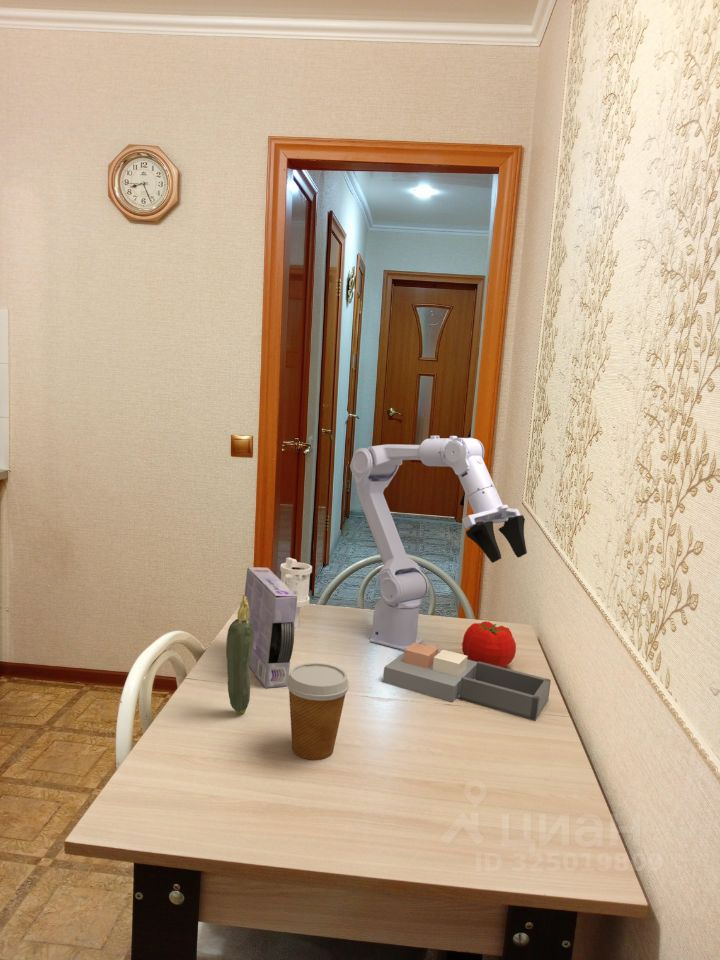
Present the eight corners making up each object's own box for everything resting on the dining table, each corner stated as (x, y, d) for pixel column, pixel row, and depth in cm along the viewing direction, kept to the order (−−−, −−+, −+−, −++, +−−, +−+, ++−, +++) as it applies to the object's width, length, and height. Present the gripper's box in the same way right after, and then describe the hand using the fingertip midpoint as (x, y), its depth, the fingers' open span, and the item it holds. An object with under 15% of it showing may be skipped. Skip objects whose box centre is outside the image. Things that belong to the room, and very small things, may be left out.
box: (459, 698, 130) (461, 678, 130) (476, 680, 139) (478, 661, 138) (535, 720, 124) (538, 698, 123) (548, 700, 133) (550, 679, 132)
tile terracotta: (403, 662, 137) (404, 649, 137) (413, 654, 142) (414, 642, 142) (427, 668, 135) (428, 656, 135) (437, 660, 140) (438, 648, 139)
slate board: (382, 681, 135) (384, 666, 134) (411, 659, 147) (413, 645, 147) (452, 702, 128) (454, 686, 128) (477, 676, 141) (478, 662, 140)
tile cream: (432, 669, 135) (433, 657, 134) (441, 661, 139) (443, 649, 139) (457, 676, 133) (458, 663, 132) (466, 668, 137) (467, 655, 137)
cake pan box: (292, 689, 129) (299, 594, 126) (266, 692, 126) (272, 595, 124) (261, 649, 146) (267, 565, 143) (237, 651, 144) (242, 566, 141)
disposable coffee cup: (347, 737, 112) (353, 665, 111) (339, 769, 103) (346, 691, 101) (288, 730, 113) (293, 658, 112) (275, 761, 104) (280, 683, 102)
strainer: (296, 618, 166) (301, 555, 164) (313, 628, 161) (318, 563, 159) (270, 622, 162) (274, 558, 160) (287, 632, 156) (292, 566, 154)
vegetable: (243, 722, 114) (250, 602, 112) (217, 718, 115) (224, 599, 113) (252, 711, 119) (260, 595, 116) (228, 706, 120) (235, 591, 117)
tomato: (518, 678, 142) (523, 636, 141) (463, 673, 142) (467, 631, 141) (508, 658, 152) (512, 619, 151) (457, 653, 152) (461, 614, 151)
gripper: (470, 486, 131) (499, 554, 126) (519, 481, 140) (548, 545, 136) (445, 503, 136) (473, 569, 131) (495, 497, 145) (522, 559, 141)
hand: (509, 558), depth 134 cm, fingers open, 7 cm apart
